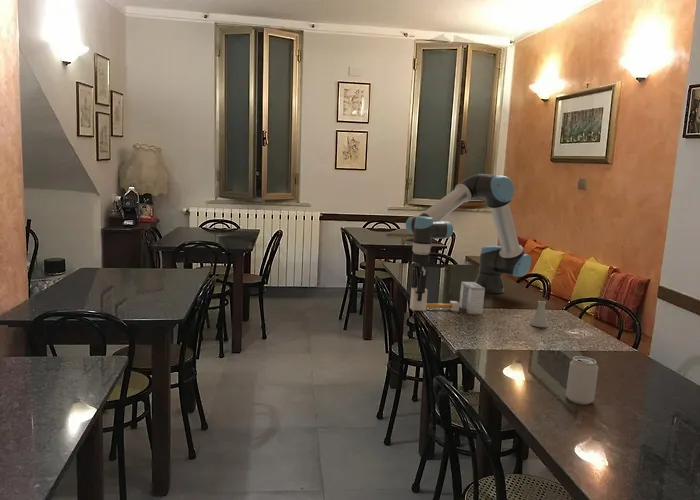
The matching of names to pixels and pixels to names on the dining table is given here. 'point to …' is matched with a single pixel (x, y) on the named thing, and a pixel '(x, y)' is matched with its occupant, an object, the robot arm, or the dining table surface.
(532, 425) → the dining table surface
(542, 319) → the flask
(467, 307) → the housing
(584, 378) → the can
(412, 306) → the white and wooden mallet
